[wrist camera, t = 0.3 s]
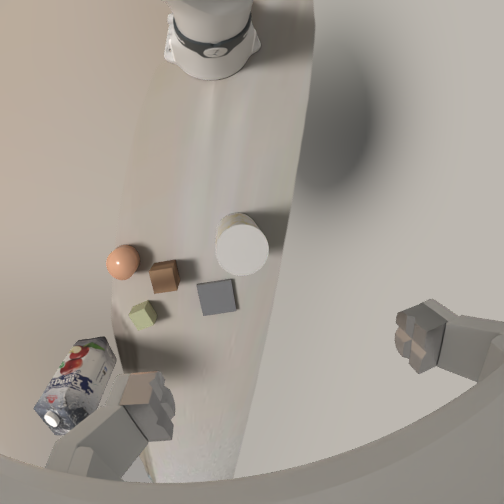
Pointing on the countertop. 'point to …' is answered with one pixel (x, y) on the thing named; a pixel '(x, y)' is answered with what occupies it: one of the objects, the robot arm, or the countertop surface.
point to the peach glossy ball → (123, 262)
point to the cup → (240, 245)
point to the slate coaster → (216, 297)
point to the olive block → (143, 315)
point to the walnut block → (164, 276)
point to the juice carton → (77, 385)
